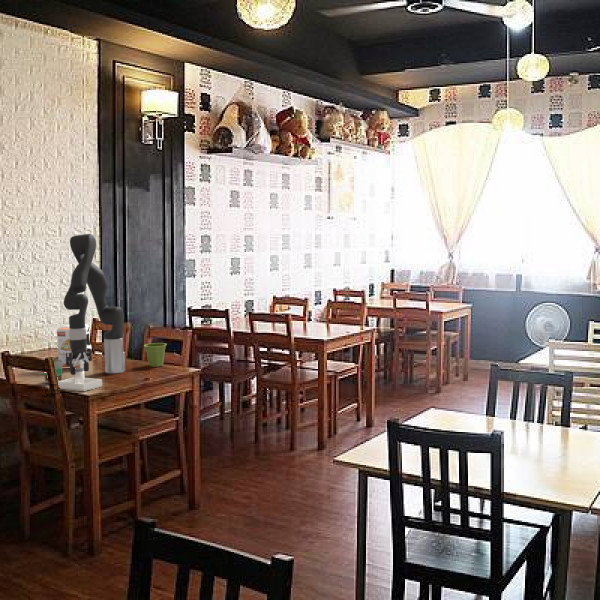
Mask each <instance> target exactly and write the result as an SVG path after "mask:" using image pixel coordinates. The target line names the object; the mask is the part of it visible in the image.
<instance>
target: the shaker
mask: <svg viewBox="0 0 600 600" xmlns="http://www.w3.org/2000/svg"><path fill="white" fill-rule="evenodd" d="M75 372H76V374H75V375H73V376H74V378H75V383H80V384H85V378H86V377H85V371H84V368H76V369H75Z"/></svg>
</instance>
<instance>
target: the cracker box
mask: <svg viewBox="0 0 600 600" xmlns="http://www.w3.org/2000/svg"><path fill="white" fill-rule="evenodd" d="M56 334H57V337H56V340H57V356H58V357H57V359H58V360H62V362H63V366H62V367H70V366H66V353H71V348H70V341H69V328H57V329H56ZM73 360H74V359H73ZM72 364H73V363H72ZM75 368H84V362H83V360H78V362H77V363H76V364H75Z"/></svg>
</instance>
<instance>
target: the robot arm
mask: <svg viewBox="0 0 600 600" xmlns="http://www.w3.org/2000/svg"><path fill="white" fill-rule="evenodd" d="M69 246H70V249H71V251H72V253H73V256H74V258H75V259H76V261H77V263H78V264H77V265H76V267H75V268H74V270H73V272H72V274H71V278H70V285H69V288H68V290H67V292H66V294H65V296H64V299H63V306H64V308H65V309H66V310H68V311H71V310H72V311H73V310H79V311H78V313H75V314H71V315H70V316H69V317H68V325H69V341H70V348H71V353H66V366H70V369H69V371H70V372H69V373H70V376H71V375H72V376H74V375H75V374H76V372H75V364H76V363H77V362H78V360H83V362H84V372H89V370H90V367H89V366H90V362H92V361H93V357H92V356H93V355H92V347H91V348H86V347H87V337H86V328H85V324H86V313H87V308H88V305H89V299H88V296H87V295H86V294H84V292H85V291H86V288H87V286H88V289H89V291H90V294H91V296H92V298H93V302H94V304H95V305H94V306H95V307H96V310H97V315H98V319H99V320H100V322H101V323H102V324H104V325H108V326H111V329H110V330H109V331H106V332H104V333H103V344H104V345H103V346H104V347H103V348H104V349H103V350H104V366H105V367H104V369H105V373H106V374H121V373H124V372H125V371H126V355H125V351H124V331H125V330H124V325H125V324H124V323H125V317H124V316H125V315H124V311H123V308H122V307H121V306H109V305H108V304H107V303H108V302H107V301H106V295H107V291H108V287H109V283H108V280H107V277H106V275H105V273H104V271H103V270H102V269H101V268H100V267H99V266H97V265H96V264H94V263H93V260H94V257H95V254H96V249H97V240H96V238H95V236H94V235H93V234H92V233H84V234H78V235H73V236H71V237H70V239H69ZM73 359H74V360H73ZM72 363H73V364H72Z"/></svg>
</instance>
